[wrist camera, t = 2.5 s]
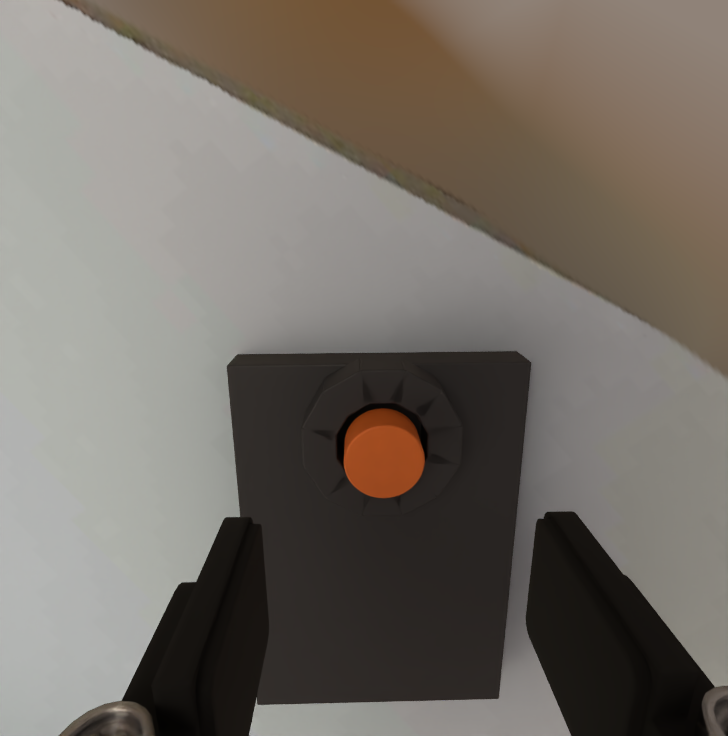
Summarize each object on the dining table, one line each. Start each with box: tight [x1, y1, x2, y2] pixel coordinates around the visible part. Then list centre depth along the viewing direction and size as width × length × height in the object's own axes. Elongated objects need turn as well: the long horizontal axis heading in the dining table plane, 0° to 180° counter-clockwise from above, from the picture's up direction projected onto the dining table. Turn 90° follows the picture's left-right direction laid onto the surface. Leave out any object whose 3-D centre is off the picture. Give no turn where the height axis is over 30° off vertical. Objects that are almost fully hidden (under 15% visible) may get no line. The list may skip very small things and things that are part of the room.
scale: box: [227, 351, 531, 705], centre depth 20 cm, size 16×11×3 cm
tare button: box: [344, 408, 425, 498], centre depth 16 cm, size 3×3×2 cm
